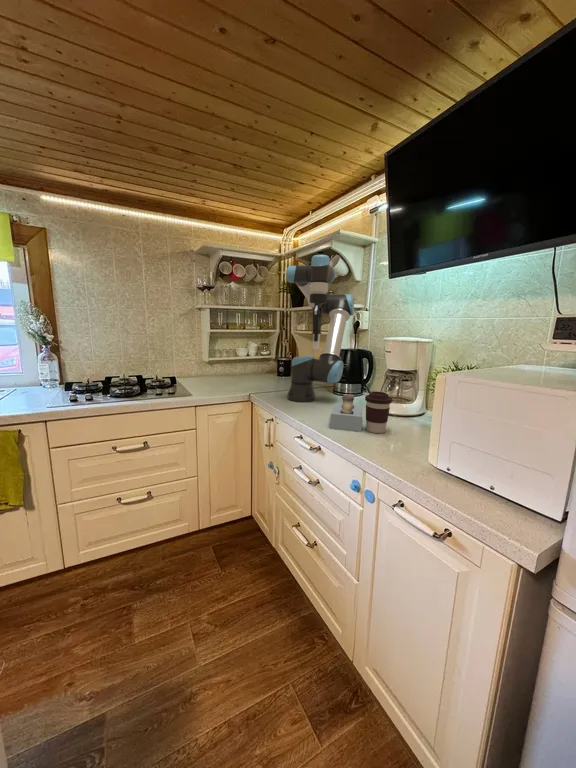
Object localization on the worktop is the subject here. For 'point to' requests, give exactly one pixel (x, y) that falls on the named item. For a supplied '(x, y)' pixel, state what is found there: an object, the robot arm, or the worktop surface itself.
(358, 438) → the worktop surface
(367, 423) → the coffee cup
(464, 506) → the worktop surface
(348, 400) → the beige cylinder
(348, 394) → the plunger red
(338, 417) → the plunger block
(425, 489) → the worktop surface
